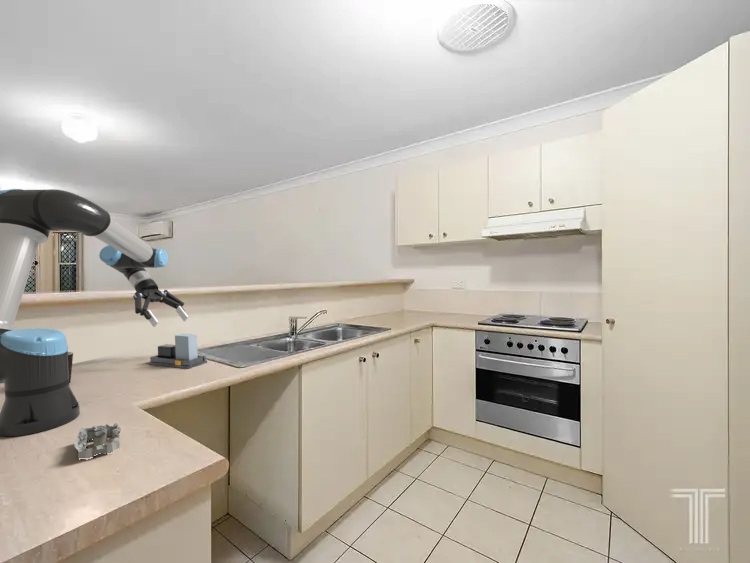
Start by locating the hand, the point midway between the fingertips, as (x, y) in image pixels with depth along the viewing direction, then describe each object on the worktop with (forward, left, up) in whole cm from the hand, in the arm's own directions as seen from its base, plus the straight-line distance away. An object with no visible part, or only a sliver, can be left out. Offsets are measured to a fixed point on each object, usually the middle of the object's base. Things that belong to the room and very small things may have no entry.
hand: (171, 321), depth 140 cm
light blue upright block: (0, -7, -16) cm, 18 cm away
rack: (0, -3, -17) cm, 17 cm away
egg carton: (-55, -43, -17) cm, 72 cm away
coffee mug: (-31, +16, -17) cm, 39 cm away
